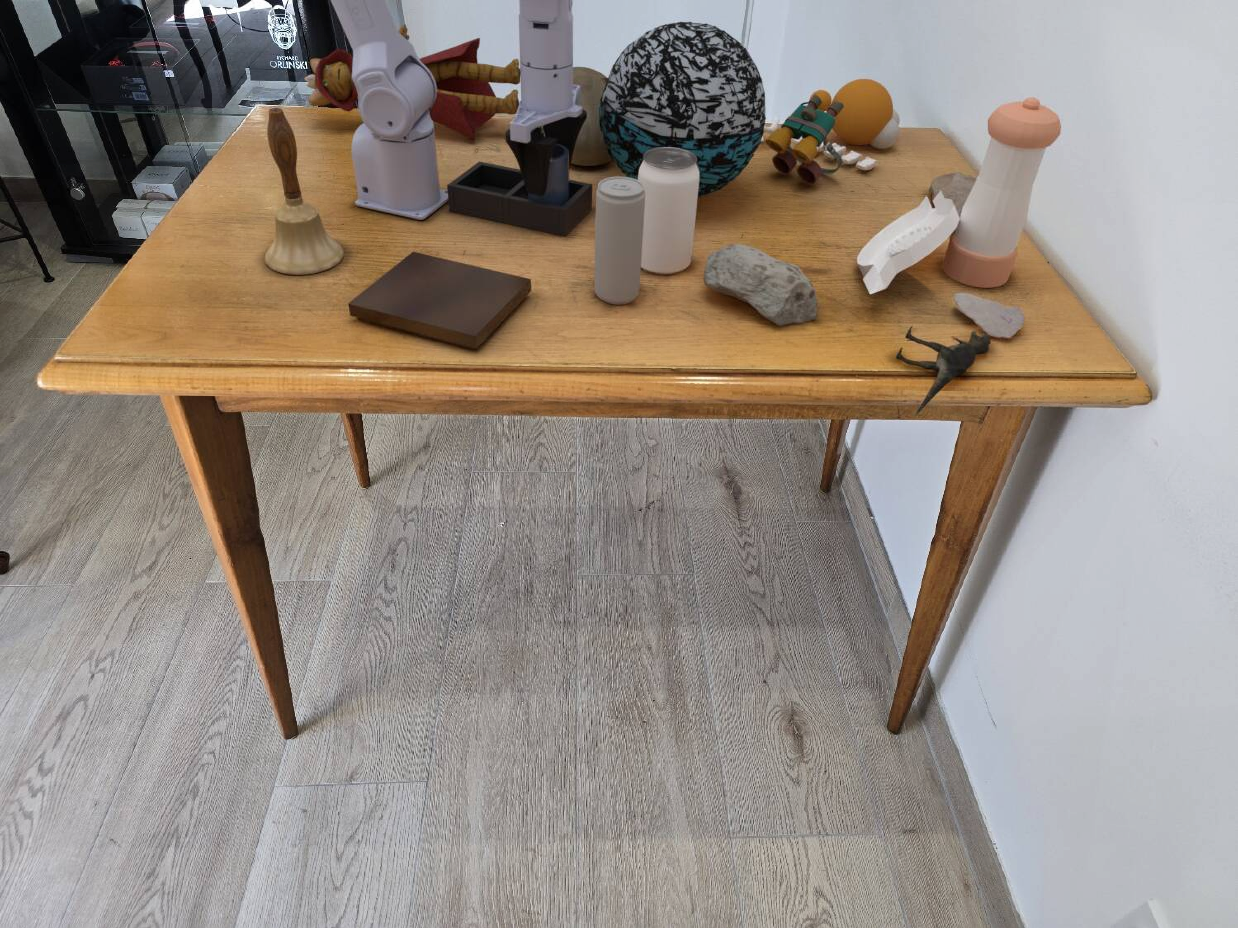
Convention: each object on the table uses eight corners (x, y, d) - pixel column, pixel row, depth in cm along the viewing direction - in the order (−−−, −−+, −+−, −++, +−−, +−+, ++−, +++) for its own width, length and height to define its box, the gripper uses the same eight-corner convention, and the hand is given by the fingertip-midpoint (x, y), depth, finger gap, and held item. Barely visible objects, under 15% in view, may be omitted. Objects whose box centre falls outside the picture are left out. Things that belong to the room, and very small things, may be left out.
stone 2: (1006, 348, 89) (1014, 332, 88) (938, 317, 92) (945, 301, 91) (1027, 325, 92) (1034, 309, 91) (961, 295, 95) (967, 279, 94)
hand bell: (359, 250, 98) (335, 104, 88) (310, 282, 93) (278, 130, 82) (300, 233, 101) (270, 89, 91) (248, 264, 95) (210, 114, 85)
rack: (449, 211, 107) (446, 185, 105) (480, 186, 113) (479, 161, 111) (565, 236, 103) (565, 210, 101) (592, 209, 109) (592, 184, 107)
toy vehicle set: (866, 165, 119) (862, 178, 121) (879, 157, 122) (876, 170, 123) (791, 136, 125) (789, 149, 126) (806, 129, 127) (803, 142, 128)
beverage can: (634, 309, 91) (641, 199, 83) (589, 303, 92) (591, 193, 84) (642, 287, 95) (649, 179, 87) (599, 281, 95) (602, 173, 88)
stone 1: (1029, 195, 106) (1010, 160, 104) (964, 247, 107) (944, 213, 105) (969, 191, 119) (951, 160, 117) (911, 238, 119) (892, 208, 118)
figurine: (514, 137, 118) (293, 130, 119) (527, 169, 131) (328, 162, 132) (519, 18, 118) (298, 11, 119) (531, 61, 131) (332, 55, 132)
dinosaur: (925, 325, 92) (988, 355, 90) (852, 405, 79) (924, 442, 76) (939, 295, 90) (1004, 325, 88) (867, 372, 76) (942, 409, 74)
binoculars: (770, 180, 123) (754, 129, 114) (810, 132, 124) (797, 77, 115) (825, 203, 118) (812, 150, 109) (866, 153, 119) (856, 97, 110)
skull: (598, 94, 130) (609, 25, 120) (625, 189, 123) (639, 124, 113) (521, 98, 127) (526, 27, 117) (544, 194, 120) (551, 128, 110)
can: (697, 255, 101) (708, 151, 93) (681, 280, 96) (692, 174, 88) (643, 244, 102) (649, 141, 94) (625, 269, 98) (630, 163, 90)
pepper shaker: (974, 293, 96) (1035, 115, 84) (928, 264, 101) (979, 91, 89) (1022, 280, 99) (1088, 106, 87) (974, 252, 104) (1031, 83, 91)
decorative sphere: (637, 239, 103) (648, 57, 90) (572, 172, 117) (573, 7, 104) (784, 214, 110) (814, 41, 97) (706, 154, 123) (723, -4, 110)
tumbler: (521, 213, 105) (517, 156, 100) (539, 195, 108) (536, 139, 104) (559, 221, 104) (557, 164, 99) (576, 203, 107) (575, 146, 102)
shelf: (351, 321, 87) (347, 303, 86) (415, 268, 96) (412, 251, 95) (476, 354, 84) (475, 336, 83) (531, 296, 92) (531, 279, 91)
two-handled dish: (981, 189, 103) (975, 175, 102) (926, 274, 86) (918, 258, 86) (900, 222, 110) (894, 209, 109) (833, 307, 93) (826, 292, 93)
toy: (806, 171, 128) (910, 155, 127) (807, 105, 121) (917, 88, 120) (793, 141, 134) (893, 126, 133) (794, 78, 127) (898, 61, 127)
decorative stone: (694, 317, 91) (699, 273, 87) (708, 268, 99) (713, 226, 95) (814, 334, 89) (824, 290, 86) (818, 283, 97) (827, 241, 94)
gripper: (552, 87, 89) (553, 213, 98) (605, 49, 100) (602, 167, 108) (489, 76, 91) (496, 201, 100) (548, 40, 101) (550, 157, 110)
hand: (548, 183), depth 104 cm, fingers open, 6 cm apart
